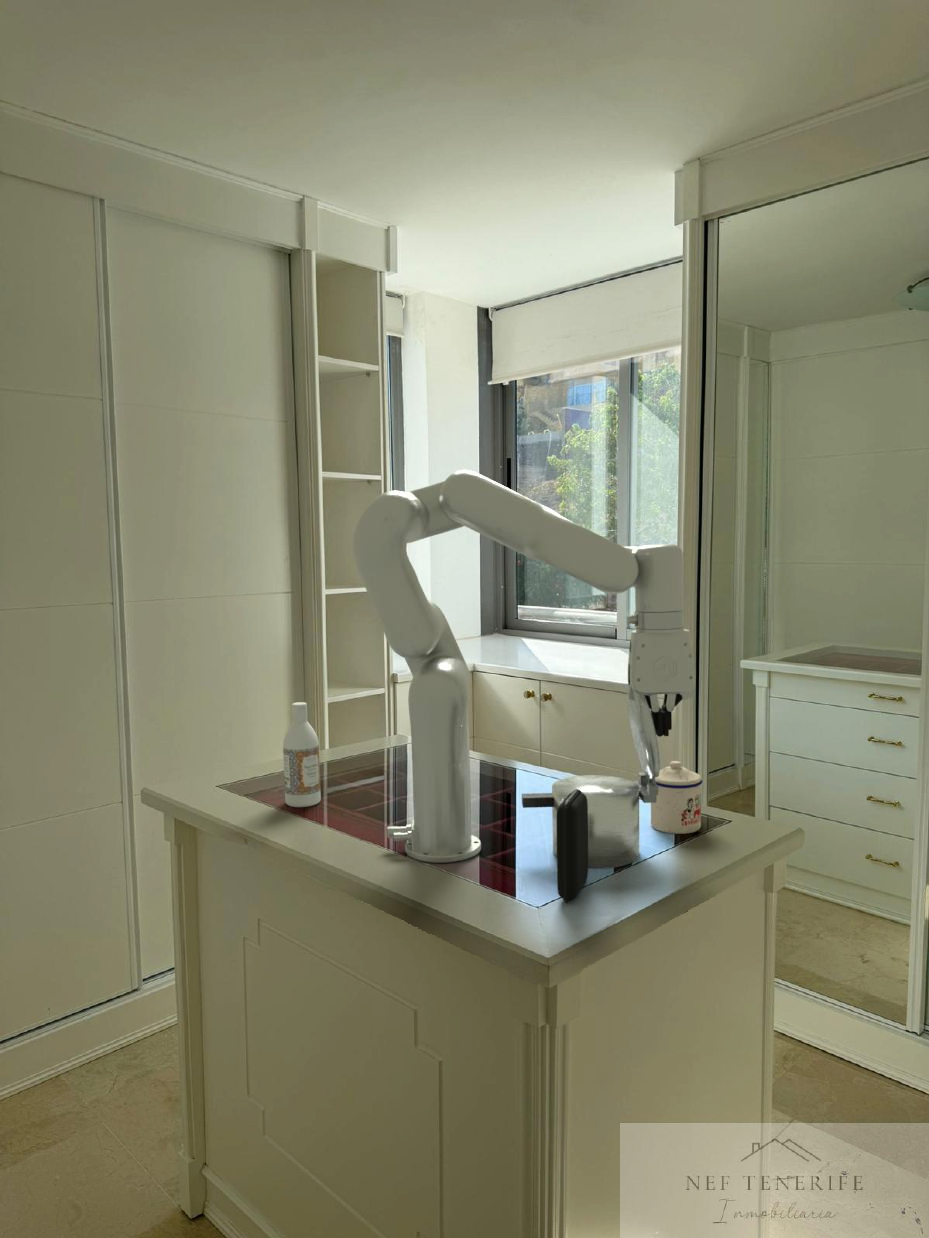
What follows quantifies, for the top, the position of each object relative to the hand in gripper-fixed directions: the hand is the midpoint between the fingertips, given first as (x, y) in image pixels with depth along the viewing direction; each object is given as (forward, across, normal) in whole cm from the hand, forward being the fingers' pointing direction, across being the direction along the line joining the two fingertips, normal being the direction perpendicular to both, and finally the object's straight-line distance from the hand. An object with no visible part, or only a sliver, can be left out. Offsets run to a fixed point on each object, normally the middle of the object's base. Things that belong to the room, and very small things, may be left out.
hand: (661, 734), depth 144 cm
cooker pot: (+19, -12, 0) cm, 23 cm away
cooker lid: (0, -4, 0) cm, 4 cm away
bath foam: (+19, -64, +32) cm, 74 cm away
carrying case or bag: (+19, -17, -16) cm, 30 cm away
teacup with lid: (+20, +6, +13) cm, 24 cm away
